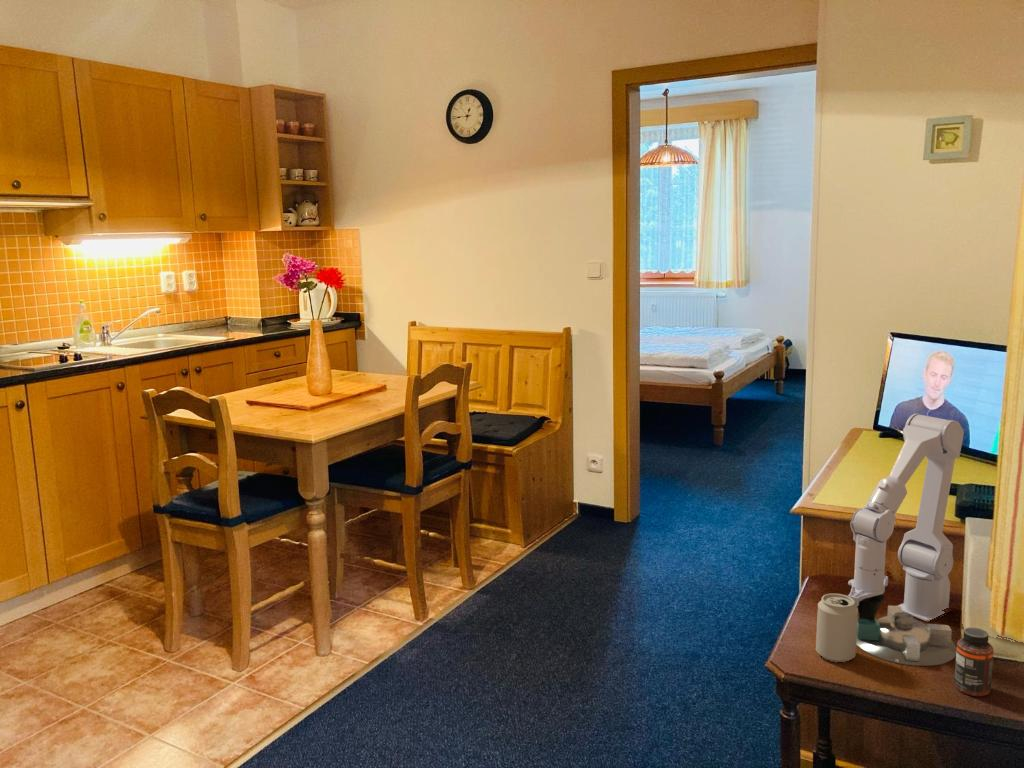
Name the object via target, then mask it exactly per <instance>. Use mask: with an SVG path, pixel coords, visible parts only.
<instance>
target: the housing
mask: <svg viewBox="0 0 1024 768" xmlns="http://www.w3.org/2000/svg"><path fill="white" fill-rule="evenodd" d="M878 619H879V618H875V620H878ZM914 619H915V618H914V616H912V615H911V614H908V613H904V612H897V613H895V614H894V625H895V626H896V627H898V628H901V629H912V628H913V621H914ZM856 647H858V648H859V649H861V650H862V651H863V652H864V653H867V654H868V655H871V656H873V657H875V658H878V659H881V660H883V661H887V662H890V663H895V664H898V665H905V666H912V667H913V666H914V667H933V666H934V667H935V666H941V665H945V664H947V663H949V662H951V661H953V660H955V659H956V650H957V644H955V643H954V641H953V640H952V639H951V646H940V645H929V647H928V648H927V649H925V650H923V651H920V657H919V661H908V660H906V659H905V657H904V655H903V653H902V651H901V650H896V649H893V648H890V647H888V646H885V645H884V644H882V643H881V642H879V641H878V640H866V639H858V638H857V639H856Z"/></svg>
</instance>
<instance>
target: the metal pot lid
mask: <svg viewBox="0 0 1024 768" xmlns="http://www.w3.org/2000/svg"><path fill="white" fill-rule="evenodd" d="M897 612H903V611H902V609H901V607H900V606H898V605H889V604H888V605H887V615H885V616H882V617H880V618H877V619H878V620H873V619H859V617H858V621H857V638H858V639H866V640H878V641H879V642H881V643H882V644H884V645H885V646H888V647H890V648H893V649H896V650H901V651H902V653H903V655H904V657H905V659H906V660H908V661H919V657H920V651H923V650H925V649H927V648H928V647H929V645H940V646H951V640H952V628H951V627H950V626H949V624H948V625H947V624H939V623H938V624H937V623H936V624H935V623H924V622H922V621H920V620H917V619H915V618H914V621H913V628H912V629H901V628H898V627H896V626H895V625H894V614H895V613H897Z"/></svg>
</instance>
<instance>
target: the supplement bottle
mask: <svg viewBox="0 0 1024 768" xmlns="http://www.w3.org/2000/svg"><path fill="white" fill-rule="evenodd" d="M962 636H963V637H962V638H959V640H957V643H956V648H957V650H956V656H955V668H954V669H955V670H954V686H955V688H956V689H957V690H959V692H961V693H963V694H966V695H969V696H973V697H985V696H987V695H989V694H990V693H991V688H992V681H993V680H992V679H993V678H992V677H993V664H994V647H993V645H992V644H991V643H990V642H989V637H990V636H989V632H987V631H985V630H984V629H981V628H979V627H978V628H977V627H966V628H965V629H963V635H962Z"/></svg>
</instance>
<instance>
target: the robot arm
mask: <svg viewBox="0 0 1024 768" xmlns="http://www.w3.org/2000/svg"><path fill="white" fill-rule="evenodd" d="M902 433H903V434H902V437H903V440H904V442H903V445H902V448H901V449H900V451H899V453H898V455H897V457H896V460H895V462H894V464H893V467H892V469H891V470H890V472H889V475H888V476H887V477H884V478H881V479H880V480H879V481H878V483H877V485H876V486H875V488H874V490H873V492H872V493H871V495H870V497H869V498H868V500H867V501H866V503H865V505H864V507H861V508H858V509H857V510H856V511H854V513H853V515H852V519H851V521H850V522H849V523H850V524H849V525H850V529H851V532H852V534H853V535H852V536H853V538H852V539H853V541H854V542H855V553H854V554H855V555H854V575H853V578H852V579H850V580H848V583H847V584H848V585H849V586H851V589H850V592H849V594H848V595H847V596H848V597H851V598H852V599H853V600H854V601H855V606H856V607H857V608H858V618H859V619H873V620H875V619H876V616H877V613H878V610H879V608H880V606H881V604H883V602H884V600H885V596H884V593H885V590H886V589H885V588H886V587H887V586H888V585H889V576H887V575H885V569H886V568H885V567H886V551H887V550H886V549H887V540H889V538H891V536H892V535H893V532H894V528H895V522H896V519H897V516H896V514H897V512H898V510H899V508H900V507H901V505H902V503H903V501H904V500H905V498H906V496H907V495H908V491H907V487H906V484H908V482H909V480H910V479H911V478H912V476H913V475H914V473H915V472H916V471H917V470H918V467H919V466H920V465H921V463H922V462H923V460H924V459H925V458H927V462H926V468H925V474H924V479H923V480H924V481H923V484H922V485H923V486H922V491H921V497H920V501H919V509H918V514H917V520H916V525H915V528H913V529H911V530H909V531H906V532H905V533H904V535H903V539H902V540H901V544H900V546H899V548H898V549H897V550H898V551H897V558H898V561H899V564H900V565H902V571H905V579H904V580H905V583H904V597H903V598H904V599H903V603H900V604H898V605H897V606H900V607H901V609H902V611H903V612H904V613H908V614H911V615H912V616H913V617H915V618H917V619H920V620H922V621H925V622H930V620H931V621H933V620H935V619H937V618H936V617H938V616H940V615H942V614H944V613H945V612H944V611H942V610H944V609H946V608H950V607H949V605H950V604H949V603H950V593H951V592H950V591H951V581H950V578H949V576H948V575H949V574H950V572H952V570H953V566H954V556H953V550H954V545H953V542H951V541H950V540H949V538H948V537H947V536H946V535H945V533H943V529H944V524H945V518H946V512H947V506H948V503H949V502H948V500H949V496H950V495H949V494H950V489H951V486H952V485H951V484H952V477H953V472H954V469H955V462H956V459H957V458H958V459H959V458H960V455H961V450H962V445H963V440H964V435H965V434H964V433H965V431H964V429H963V427H962V425H961V424H960V422H959V421H957V420H955V419H954V420H951V419H945V418H940V417H934V416H931V415H930V416H929V415H924V414H921V413H912V415H910V416H909V418H907V420H906V422H905V426H904V428H903V429H902ZM942 616H943V615H942ZM940 617H941V616H940ZM934 618H935V619H934ZM938 618H939V617H938ZM932 619H933V620H932Z"/></svg>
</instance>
